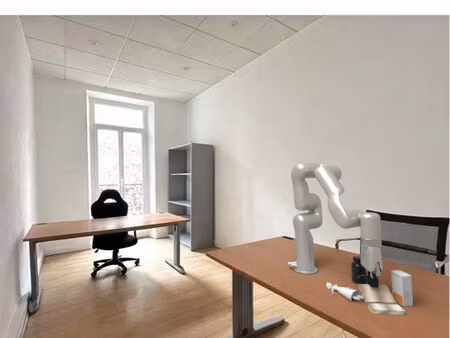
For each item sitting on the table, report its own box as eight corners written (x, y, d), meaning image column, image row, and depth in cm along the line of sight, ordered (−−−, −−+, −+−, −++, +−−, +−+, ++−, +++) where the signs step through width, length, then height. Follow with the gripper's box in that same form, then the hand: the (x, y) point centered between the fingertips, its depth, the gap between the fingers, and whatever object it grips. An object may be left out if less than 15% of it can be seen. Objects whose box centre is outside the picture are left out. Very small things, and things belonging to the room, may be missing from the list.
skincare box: (391, 299, 102) (390, 270, 102) (401, 298, 102) (399, 269, 102) (403, 306, 96) (401, 276, 96) (413, 306, 96) (412, 275, 96)
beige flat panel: (365, 303, 98) (366, 301, 98) (358, 286, 105) (358, 284, 105) (395, 305, 97) (396, 302, 96) (385, 287, 104) (386, 284, 103)
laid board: (373, 313, 92) (373, 309, 92) (367, 306, 97) (367, 302, 97) (405, 315, 90) (405, 310, 90) (397, 307, 95) (397, 303, 95)
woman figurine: (351, 296, 97) (317, 282, 113) (352, 307, 96) (318, 292, 113) (370, 289, 102) (335, 277, 118) (371, 300, 101) (336, 286, 118)
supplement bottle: (361, 286, 114) (360, 260, 115) (348, 280, 120) (347, 256, 121) (370, 282, 117) (369, 257, 118) (357, 277, 124) (356, 254, 124)
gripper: (354, 237, 111) (355, 277, 111) (370, 247, 96) (372, 294, 95) (371, 237, 111) (373, 278, 110) (390, 247, 95) (392, 295, 94)
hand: (372, 285), depth 103 cm, fingers closed
